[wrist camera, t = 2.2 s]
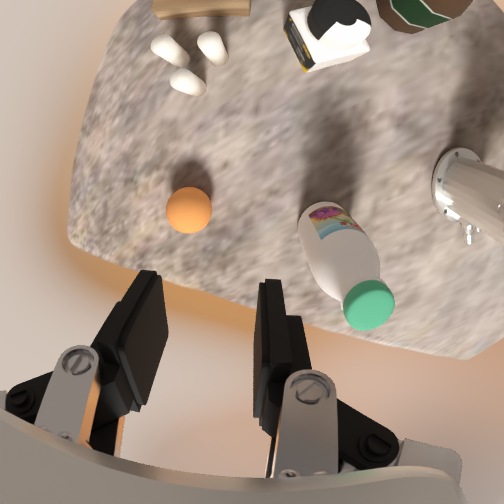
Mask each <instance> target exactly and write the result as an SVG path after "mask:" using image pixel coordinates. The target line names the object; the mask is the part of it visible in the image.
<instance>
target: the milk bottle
mask: <svg viewBox="0 0 504 504" xmlns="http://www.w3.org/2000/svg"><path fill="white" fill-rule="evenodd" d="M298 235H299V238H300V241H301V244H302V247H303V250H304V252H305V255H306V258H307V260H308V263H309V266H310V268H311V271H312V273H313V275H314V278H315V280H316V281H317V283H318V284H319V286H320V287H321V288H322V289H323V290H324V291H325V292H326V293H327V294H328V295H330V296H332V297H333V298H335V299H337V300H339V301H340V302H341V308H342V310H343V312H344V315H345V318H346V320H347V322H348V323H349V324H350V325H351V326H352V327H353V328H355V329H357V330H371V329H374V328H376V327H378V326H380V325H382V324H383V323H384V322H385V321H386V320H387V319H388V318H389V317H390V316H391V314H392V312H393V310H394V305H395V301H394V297H393V294H392V292H391V291H390V289H389V288H388V287H387V285H386V284H385V282H384V281H383V280H382V279H380V260H379V256H378V253H377V250H376V248H375V246H374V244H373V243H372V241H371V240H370V239H369V237H368V236H367V235H366V233H365V232H364V231H363V230H362V229H361V228H360V226H359V225H358V224H357V223H356V222H355V221H354V220H353V219H352V217H351V216H350V215H349V214H348V213H347V212H346V211H345V210H344V209H343V208H342V207H340V206H339V205H337V204H335V203H333V202H318V203H315V204H313V205H311V206H310V207H308V208H307V209H306V210H305V211H304V212H303V214H302V215H301V217H300V219H299V222H298Z"/></svg>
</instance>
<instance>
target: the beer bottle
mask: <svg viewBox="0 0 504 504" xmlns="http://www.w3.org/2000/svg"><path fill="white" fill-rule="evenodd" d="M472 1H473V0H377V5H378V9H379V13H380V17H381V18H382V19H383V20H384V21H385V22H386V23H387V24H388V25H389V26H391V27H392V28H393V29H394V30H395V31H400V32H405V33H410V34H413V33H417V32H419V31H422V30H424V29H427V28H429V27H432V26H435V25H437V24H440V23H443V22H446V21H448V20H451V19H454V18H456V17H458V16H460V15H461V14H462V13H463V12H464V11H465V10H466V9H467V8H468V6H469V5H470V4H471V3H472Z"/></svg>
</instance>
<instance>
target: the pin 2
mask: <svg viewBox="0 0 504 504" xmlns="http://www.w3.org/2000/svg"><path fill="white" fill-rule="evenodd" d="M197 44H198V46H199V48H200V49H201V50H202V52H203V53H204V54H205V56H206V57H207V58H208V60H209V61H210V62H211V63H212V64H213V65H214V66H222V65H224V64H225V63H226V62H227V61H228V54H227V52H226V50H225V47H224V45H223V42H222V40H221V37H220V35H219V34H218V33H216V32H213V31H207V32H204V33H203V34H201V35H200V36H199V38H198V40H197Z"/></svg>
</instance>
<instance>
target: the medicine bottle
mask: <svg viewBox="0 0 504 504" xmlns="http://www.w3.org/2000/svg"><path fill="white" fill-rule="evenodd" d="M370 30H371V20H370V17H369V14H368V13H367V11H366V10H365V8H364V7H363V6H362V5H361V4H360V3H358V2H357V1H356V0H316V1H315V2H314V4H313V6H309V7H305V8H300V9H296V10H292V11H290V12H289V15H288V18H287V21H286V24H285V27H284V32H285V34H286V36H287V38H288V40H289V42H290V44H291V45H292V47H293V49H294V52H295V54H296V56H297V58H298V60H299V62H300V64H301V66H302V68H303V70H304V72H306V73H308V72H311V71H314V70H318V69H321V68H325V67H329V66H332V65H336V64H340V63H344V62H349V61H352V60H353V59H355V58H357V57H359V56H361V55H362V54H364V53H366V52H368V51H369V50H370V47H369V45H368V43H367V41H366V39H365V38H366V37H367V36H368V35H369V33H370Z"/></svg>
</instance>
